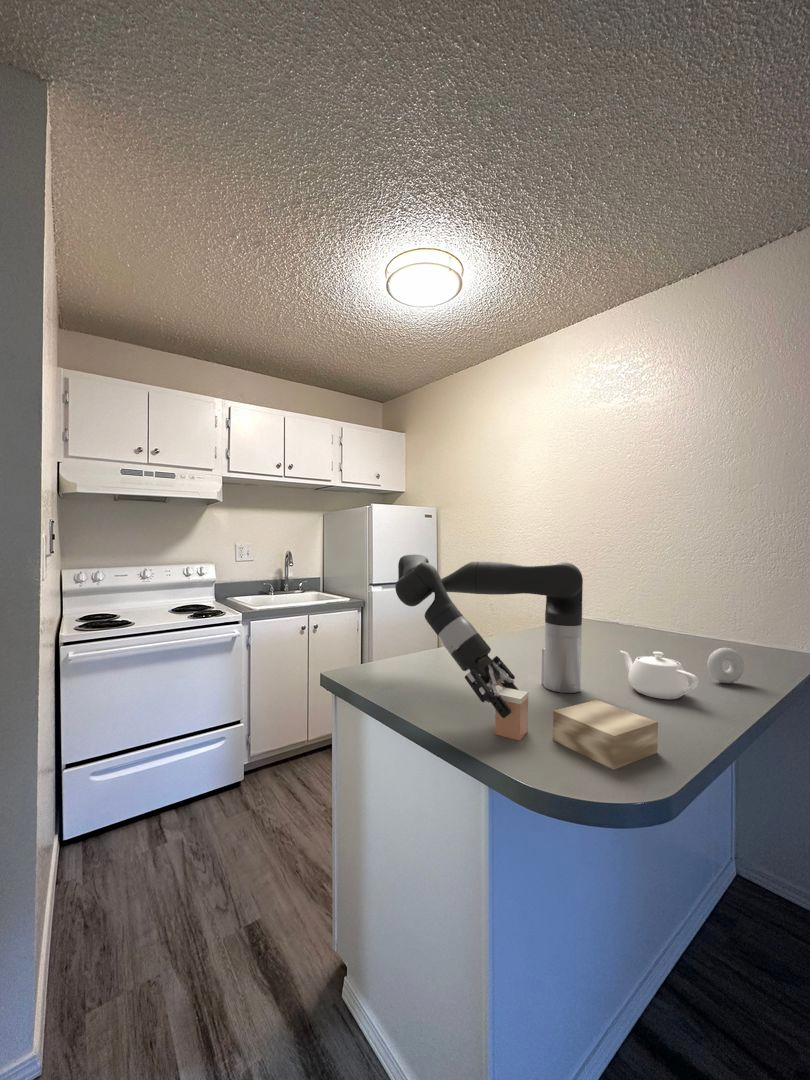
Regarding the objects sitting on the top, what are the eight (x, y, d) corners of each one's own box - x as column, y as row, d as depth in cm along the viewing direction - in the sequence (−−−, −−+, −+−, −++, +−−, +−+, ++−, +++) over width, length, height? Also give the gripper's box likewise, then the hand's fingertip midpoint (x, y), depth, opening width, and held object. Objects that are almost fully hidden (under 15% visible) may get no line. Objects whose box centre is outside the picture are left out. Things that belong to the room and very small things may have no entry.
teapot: (715, 703, 110) (715, 659, 110) (677, 711, 105) (678, 664, 105) (636, 678, 130) (637, 640, 130) (601, 683, 125) (602, 644, 125)
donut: (738, 681, 129) (738, 646, 129) (747, 685, 126) (748, 649, 126) (703, 681, 129) (704, 646, 129) (712, 684, 125) (713, 649, 125)
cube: (495, 734, 90) (496, 693, 90) (503, 725, 94) (504, 687, 94) (519, 740, 87) (520, 699, 87) (527, 731, 91) (528, 692, 91)
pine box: (552, 741, 88) (553, 710, 88) (595, 728, 94) (596, 699, 94) (613, 771, 76) (614, 736, 76) (657, 754, 83) (657, 721, 83)
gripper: (466, 647, 103) (513, 708, 97) (436, 660, 91) (488, 730, 85) (488, 627, 101) (538, 688, 95) (461, 637, 89) (516, 709, 82)
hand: (514, 708), depth 90 cm, fingers open, 8 cm apart
